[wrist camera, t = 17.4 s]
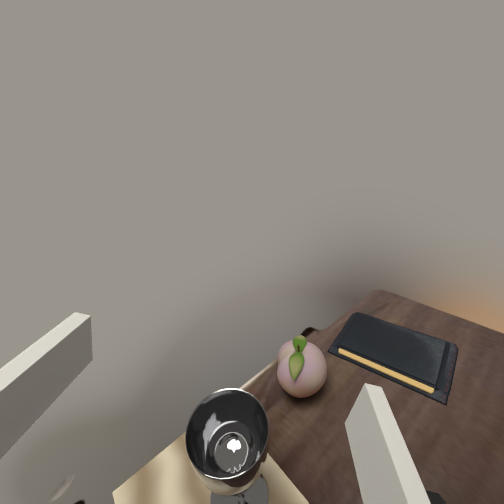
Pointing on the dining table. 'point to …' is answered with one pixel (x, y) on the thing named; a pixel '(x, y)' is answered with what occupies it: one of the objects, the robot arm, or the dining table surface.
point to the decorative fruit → (301, 367)
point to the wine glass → (229, 446)
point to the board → (192, 482)
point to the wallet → (398, 355)
